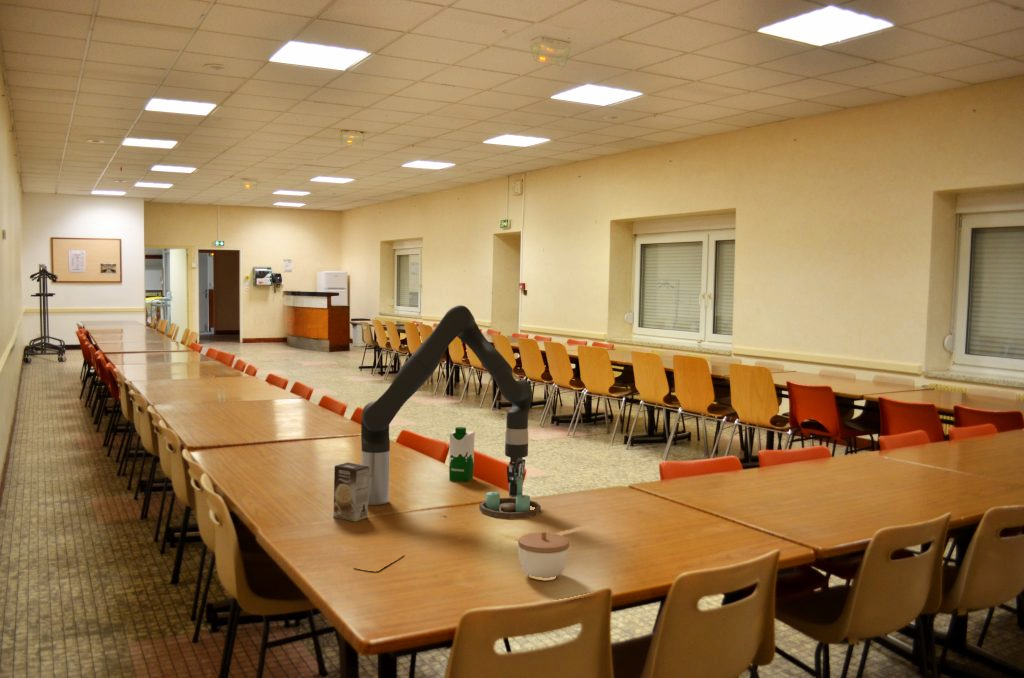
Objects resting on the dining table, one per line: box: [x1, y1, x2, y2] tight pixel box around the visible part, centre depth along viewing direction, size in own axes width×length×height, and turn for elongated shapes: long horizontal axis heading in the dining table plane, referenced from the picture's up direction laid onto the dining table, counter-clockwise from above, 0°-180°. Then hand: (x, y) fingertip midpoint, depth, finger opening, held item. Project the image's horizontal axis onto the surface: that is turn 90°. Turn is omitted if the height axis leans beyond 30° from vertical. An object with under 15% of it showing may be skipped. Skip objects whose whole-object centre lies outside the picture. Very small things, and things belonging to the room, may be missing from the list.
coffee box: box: [333, 462, 369, 522], centre depth 238 cm, size 9×6×16 cm
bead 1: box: [485, 491, 501, 511], centre depth 247 cm, size 4×4×6 cm
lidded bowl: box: [517, 531, 570, 578], centre depth 191 cm, size 13×13×11 cm
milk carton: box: [448, 426, 476, 483], centre depth 293 cm, size 9×9×20 cm
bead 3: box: [515, 494, 531, 512], centre depth 244 cm, size 4×4×6 cm
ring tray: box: [478, 497, 542, 519], centre depth 248 cm, size 19×19×3 cm
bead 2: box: [508, 477, 524, 498], centre depth 253 cm, size 4×4×6 cm
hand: (515, 493), depth 254 cm, fingers closed on bead 2, 4 cm apart
